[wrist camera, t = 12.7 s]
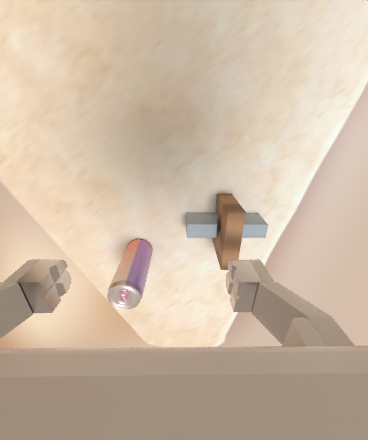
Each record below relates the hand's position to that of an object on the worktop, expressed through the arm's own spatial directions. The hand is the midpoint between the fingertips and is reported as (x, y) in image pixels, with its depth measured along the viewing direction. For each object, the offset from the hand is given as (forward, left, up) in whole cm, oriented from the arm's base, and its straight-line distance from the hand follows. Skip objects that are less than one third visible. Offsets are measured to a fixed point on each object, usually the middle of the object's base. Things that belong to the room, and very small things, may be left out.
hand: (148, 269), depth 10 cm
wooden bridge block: (+12, +11, -31) cm, 35 cm away
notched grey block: (+12, +11, -31) cm, 35 cm away
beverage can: (+20, -8, -31) cm, 38 cm away
